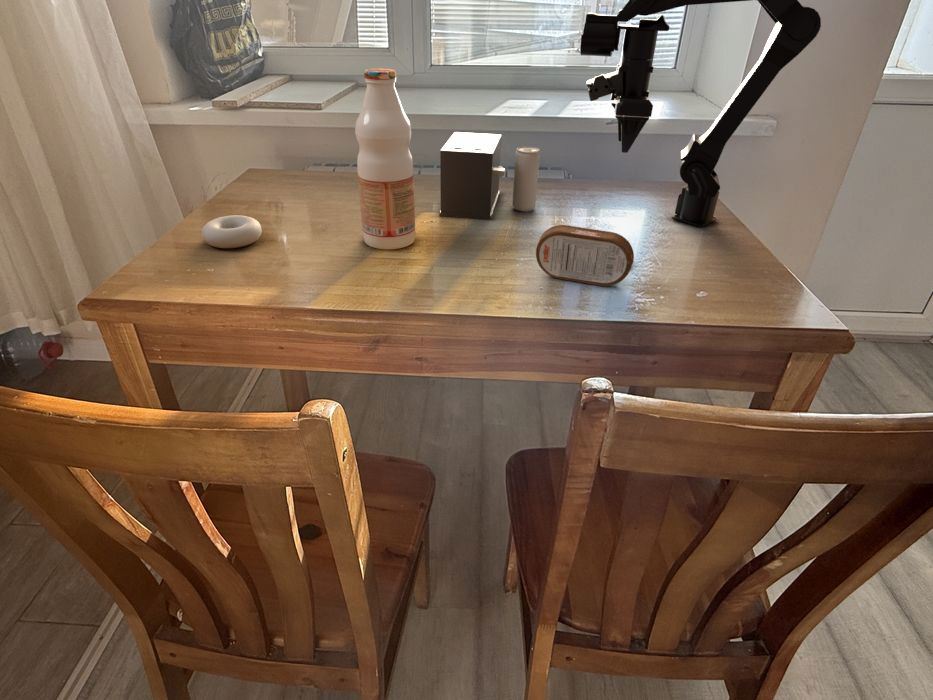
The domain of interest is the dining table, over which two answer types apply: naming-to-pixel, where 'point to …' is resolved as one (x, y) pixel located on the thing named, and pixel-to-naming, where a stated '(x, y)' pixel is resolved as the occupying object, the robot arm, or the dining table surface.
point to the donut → (231, 231)
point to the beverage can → (525, 178)
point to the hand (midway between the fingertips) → (622, 146)
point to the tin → (584, 255)
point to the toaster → (470, 175)
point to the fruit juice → (385, 165)
